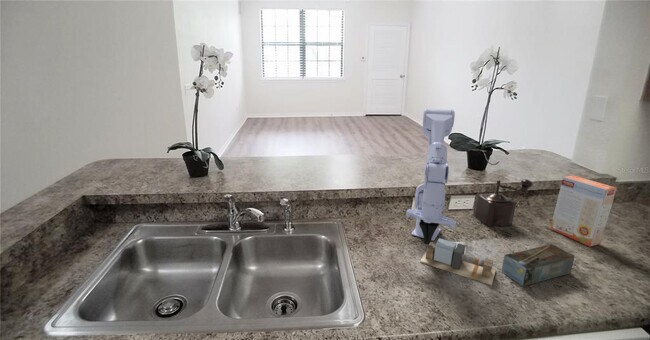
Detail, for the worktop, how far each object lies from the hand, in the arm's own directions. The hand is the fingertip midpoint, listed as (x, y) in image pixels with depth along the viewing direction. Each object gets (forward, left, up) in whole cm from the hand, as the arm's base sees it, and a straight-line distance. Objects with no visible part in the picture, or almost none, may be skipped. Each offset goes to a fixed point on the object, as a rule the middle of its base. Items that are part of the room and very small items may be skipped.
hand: (427, 242), depth 104 cm
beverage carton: (-10, +29, -6) cm, 32 cm away
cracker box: (-43, +40, -5) cm, 59 cm away
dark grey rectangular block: (0, +9, -5) cm, 11 cm away
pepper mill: (-42, +16, -5) cm, 45 cm away
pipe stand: (0, +9, -5) cm, 11 cm away
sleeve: (0, +5, -4) cm, 7 cm away
